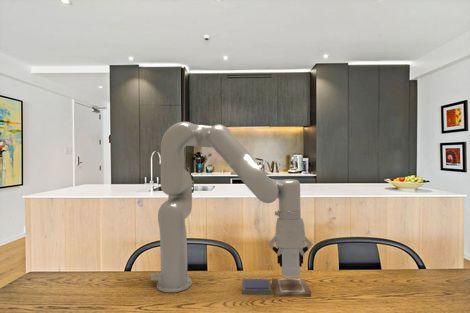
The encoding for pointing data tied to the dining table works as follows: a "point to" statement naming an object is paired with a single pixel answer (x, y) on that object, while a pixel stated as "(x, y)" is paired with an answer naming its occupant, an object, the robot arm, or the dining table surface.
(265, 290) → the ink pad
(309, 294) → the marked board
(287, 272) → the skincare box
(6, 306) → the dining table surface
